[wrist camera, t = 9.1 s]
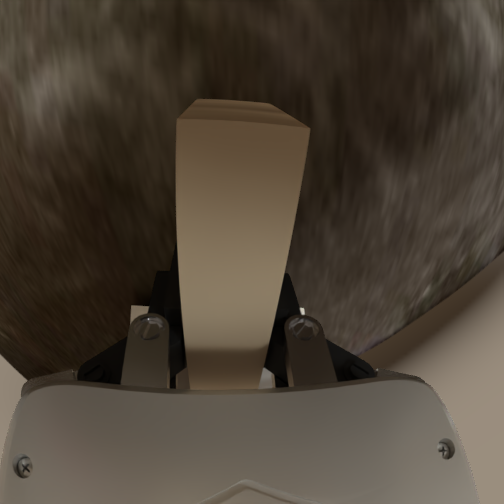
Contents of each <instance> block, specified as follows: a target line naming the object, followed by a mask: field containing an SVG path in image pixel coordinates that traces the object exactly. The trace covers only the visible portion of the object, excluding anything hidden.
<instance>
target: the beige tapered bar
mask: <svg viewBox="0 0 504 504" xmlns="http://www.w3.org/2000/svg"><path fill="white" fill-rule="evenodd" d="M309 136H310V128H309V127H307V126H306V125H304V124H303V123H301V122H299V121H298V120H296V119H295V118H293V117H291V116H290V115H288V114H287V113H285V112H283V111H282V110H280V109H278V108H277V107H275V106H273V105H271V104H270V103H260V102H249V101H235V100H216V99H197V100H195V101H194V102H193V103H192V104H191V105H190V106H189V107H188V108H187V109H186V110H185V111H184V112H183V113H182V114H181V115H180V116H179V117H178V118H177V126H176V224H177V249H178V268H179V284H180V297H181V310H182V321H183V331H184V341H185V350H186V359H187V368H185V369H183V370H182V371H181V372H179V373H178V374H177V389H196V390H240V389H266V388H272V379H271V374H272V373H271V372H270V371H268V370H267V369H265V368H263V367H264V363H265V359H266V354H267V350H268V346H269V341H270V337H271V332H272V328H273V324H274V319H275V314H276V310H277V305H278V301H279V296H280V291H281V287H282V282H283V277H284V272H285V267H286V262H287V257H288V252H289V247H290V242H291V237H292V232H293V227H294V221H295V216H296V211H297V205H298V200H299V194H300V189H301V183H302V177H303V172H304V166H305V160H306V154H307V148H308V142H309Z"/></svg>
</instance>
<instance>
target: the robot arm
mask: <svg viewBox="0 0 504 504" xmlns="http://www.w3.org/2000/svg"><path fill="white" fill-rule="evenodd" d="M185 368H187V359H186V350H185V341H184V331H183V321H182V310H181V297H180V284H179V268H178V249H177V241H176V245H175V250H174V255H173V260H172V265H171V270H170V271H157V274H156V277H155V282H154V286H153V290H152V295H151V299H150V303H149V308H148V313H147V314H142V315H140V316H138V317H136V318H135V319H134V320H133V321H132V322H131V324H130V327H129V332H128V337H126V338H124V339H123V340H121V341H119V342H118V343H116V344H114V345H113V346H111V347H110V348H108V349H106V350H105V351H103V352H101V353H100V354H98V355H97V356H95V357H93V358H92V359H90V360H88V361H87V362H85V363H84V364H83V365H82V366H81V367H80V369H79V370H78V371H75V372H73V370H72V369H71V370H67V371H63V372H58V373H54V374H50V375H46V376H41V377H37V378H32V379H30V380H28V381H27V382H26V383H25V384H24V385H23V387H22V391H21V399H20V401H19V403H18V405H17V406H16V409H15V411H14V413H13V416H12V419H11V422H10V425H9V429H8V432H7V436H6V440H5V444H4V449H3V454H2V460H1V467H0V504H480V502H479V498H478V494H477V489H476V485H475V482H474V478H473V474H472V471H471V468H470V465H469V462H468V459H467V456H466V453H465V450H464V447H463V445H462V442H461V439H460V437H459V434H458V431H457V429H456V427H455V425H454V422H453V420H452V418H451V416H450V414H449V412H448V410H447V408H446V406H445V404H444V403H443V401H442V399H441V398H440V396H439V394H438V393H437V392H436V391H435V389H434V388H433V387H431V386H430V385H429V384H427V383H425V381H424V380H422V379H421V378H419V377H417V376H413V375H407V374H403V373H398V372H394V371H389V370H385V369H380V368H378V369H377V370H373V368H372V367H371V366H370V365H369V364H368V363H366V362H365V361H364V360H362V359H360V358H358V357H357V356H355V355H353V354H351V353H350V352H348V351H346V350H344V349H343V348H341V347H339V346H337V345H336V344H334V343H332V342H330V341H329V340H327V339H326V338H325V334H324V331H323V328H322V326H321V324H320V323H319V322H318V321H317V320H316V319H314V318H313V317H310V316H307V315H302V314H301V311H300V307H299V304H298V301H297V298H296V294H295V291H294V288H293V285H292V282H291V279H290V276H289V274H288V273H284V277H283V282H282V287H281V291H280V296H279V301H278V305H277V310H276V314H275V319H274V324H273V328H272V332H271V337H270V341H269V346H268V350H267V354H266V359H265V363H264V367H263V368H265V369H267V370H268V371H270V372H271V373H272V374H271V379H272V388H266V389H240V390H196V389H177V374H178V373H179V372H181V371H182V370H183V369H185Z"/></svg>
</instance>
